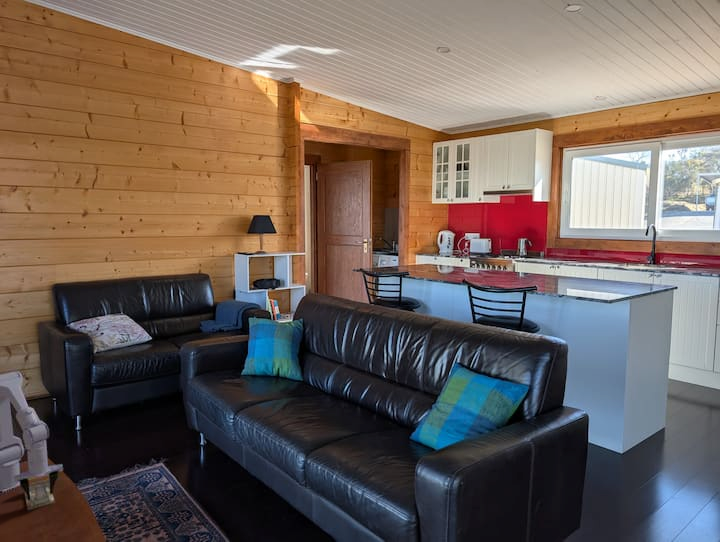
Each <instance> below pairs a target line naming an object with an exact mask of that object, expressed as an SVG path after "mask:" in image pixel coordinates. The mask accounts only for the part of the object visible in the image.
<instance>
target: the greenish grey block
mask: <svg viewBox="0 0 720 542" xmlns="http://www.w3.org/2000/svg"><path fill="white" fill-rule="evenodd" d="M33 500H34V505H36V504H40V503H43V502H47V501H48V498H47V494H45V485H38V486H36V487H35V497H33Z"/></svg>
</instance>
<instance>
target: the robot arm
mask: <svg viewBox="0 0 720 542" xmlns="http://www.w3.org/2000/svg"><path fill="white" fill-rule="evenodd" d="M23 385H24V377H23V375H22V373H21V372H20V371H19V370H13V371H12V372H8V373H3V374H0V492H1V491H2V492H1V493H5V492H8V491H10V490H12V488H13V489H15V488H17V487H21V488H22V490H23V491H24V494H25V493H26V495H27V497H28V500H30V493H29V481H28V479H31V478H35V477H36V478H39V477H43V475H46V474H49V480H50V494H53V495H54V493H53V492H54V487H55V483H56V481H57V480H58V477H59V473H60V472H64V467H63V464H62V463H61V464H60V463H59V464H53V465H48V464H49V463H48V450H47V448H48V447H47V440H48V438H49V437H50V429H49V427H48V425H47V423H45V422H44V421H43V420H41V419H40V418H39V416H38V414H37V412H36V411H35V408H33V407H31V406H29V405H28V402H27V400H26V398H25V394H24V391H23ZM11 405H12V406H13V408H14V409H15V411H16V415H15V418H16V420H17V422H18V424H19V426H20V429H21V430H22V431H23V433H22V438H23V441H24V445H23V443H22V439H21V438H20V437H17V436H15V435H14V428H13V420H12V419H13V418H12V413H11V412H12V411H11ZM24 447H25V448H24ZM25 449H26V451H27V463H28V464H27V465H28V470H27V471H24V472H22V473H21V472H20V471H21V470H20V461H21V459H22V458H23V456H24V454H25ZM9 489H10V490H9ZM7 490H8V491H7ZM4 491H5V492H4Z"/></svg>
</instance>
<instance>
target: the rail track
mask: <svg viewBox="0 0 720 542" xmlns="http://www.w3.org/2000/svg"><path fill="white" fill-rule="evenodd" d="M38 485H45V494H47V498H48V501H47V502H43V503H40V504H36V505H34V500H33V497H35V487H36V486H38ZM29 493H30V500H28V497H27V495H26V493H25V492H24V497H25V501H26V508H27V511H31V510H34V509H38V508H42V507H45V506H49V505H52V504H55V503H56V502H55V498H54V493H53V494H50V480H49V479H45V480H41V481H37V482H33V483H30V484H29Z"/></svg>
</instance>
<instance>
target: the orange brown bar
mask: <svg viewBox="0 0 720 542" xmlns="http://www.w3.org/2000/svg"><path fill="white" fill-rule="evenodd" d="M45 479H49V474H46V475H43V477H39V478H36V477H35V478H31V479H28V481H29V484H30V483H33V482H37V481H41V480H45Z"/></svg>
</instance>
